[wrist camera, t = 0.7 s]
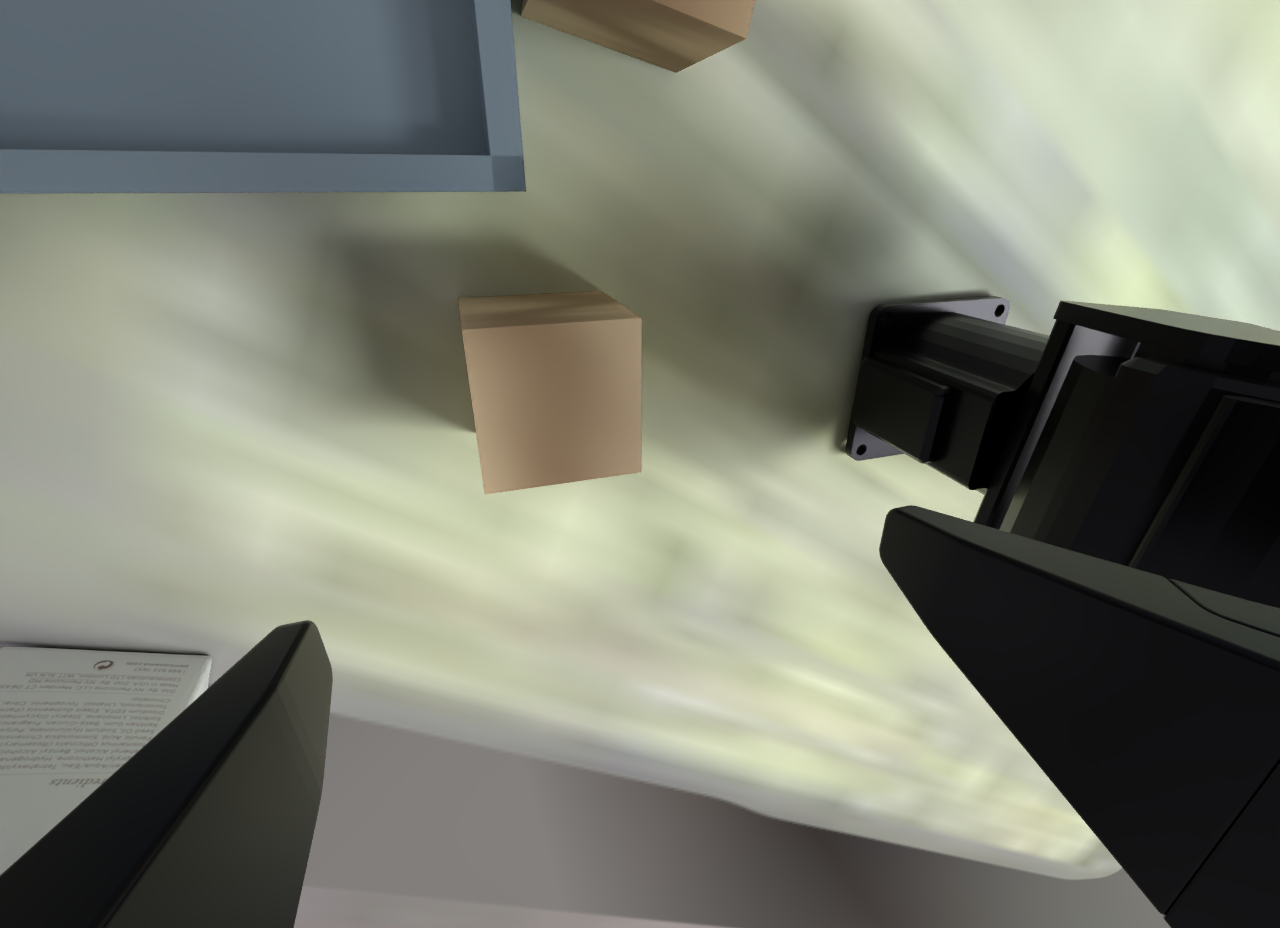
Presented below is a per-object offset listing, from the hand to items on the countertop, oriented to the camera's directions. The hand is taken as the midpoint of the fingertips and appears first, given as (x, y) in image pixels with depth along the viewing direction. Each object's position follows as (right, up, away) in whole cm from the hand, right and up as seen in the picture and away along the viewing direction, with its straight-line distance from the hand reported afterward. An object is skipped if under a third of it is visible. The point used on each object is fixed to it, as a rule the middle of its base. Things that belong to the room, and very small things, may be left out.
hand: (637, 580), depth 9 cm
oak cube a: (-3, +5, +10) cm, 12 cm away
